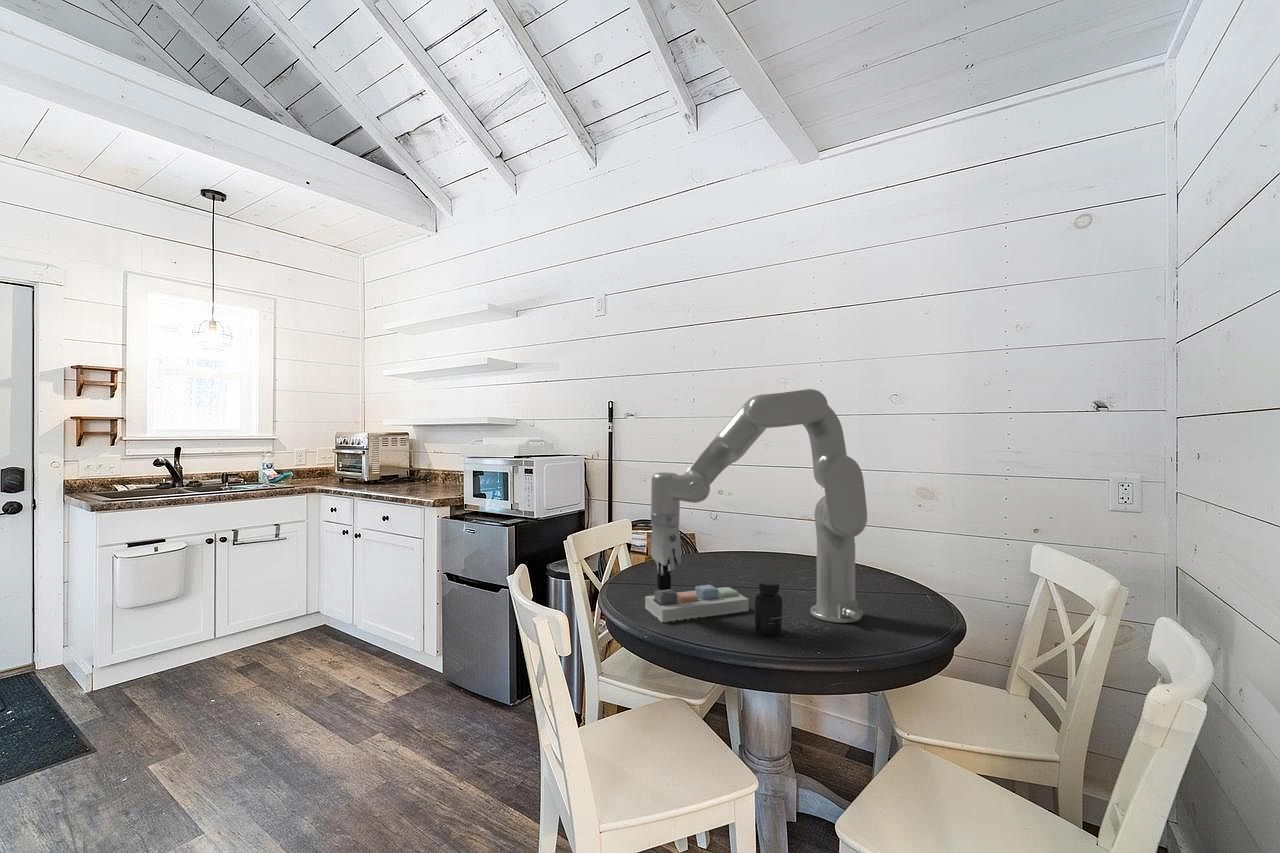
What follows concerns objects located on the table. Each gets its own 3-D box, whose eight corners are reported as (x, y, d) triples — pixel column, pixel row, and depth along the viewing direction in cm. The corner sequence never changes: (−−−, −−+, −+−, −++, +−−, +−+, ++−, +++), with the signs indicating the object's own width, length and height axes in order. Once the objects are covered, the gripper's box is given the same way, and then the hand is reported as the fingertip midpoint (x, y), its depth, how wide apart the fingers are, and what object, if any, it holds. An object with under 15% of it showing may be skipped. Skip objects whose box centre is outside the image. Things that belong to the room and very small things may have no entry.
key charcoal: (677, 605, 151) (677, 593, 150) (661, 607, 149) (661, 595, 149) (670, 600, 155) (670, 588, 155) (654, 602, 153) (654, 590, 153)
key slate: (718, 600, 155) (718, 588, 155) (702, 602, 153) (702, 590, 153) (710, 595, 159) (710, 584, 159) (695, 597, 157) (695, 585, 157)
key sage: (737, 602, 157) (737, 591, 157) (722, 604, 155) (722, 592, 155) (729, 597, 161) (729, 586, 161) (714, 599, 160) (714, 588, 160)
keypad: (748, 610, 154) (748, 599, 154) (662, 622, 145) (662, 610, 145) (726, 597, 165) (726, 586, 165) (645, 608, 156) (645, 596, 156)
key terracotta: (697, 607, 153) (697, 595, 153) (682, 609, 151) (682, 597, 151) (690, 602, 157) (690, 591, 157) (675, 604, 155) (675, 592, 155)
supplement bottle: (777, 639, 134) (777, 588, 134) (750, 633, 137) (749, 583, 137) (787, 630, 140) (787, 581, 139) (760, 625, 143) (760, 577, 143)
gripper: (690, 524, 146) (689, 596, 146) (667, 514, 160) (666, 580, 160) (663, 525, 143) (661, 598, 144) (641, 515, 157) (640, 582, 158)
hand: (664, 588), depth 152 cm, fingers closed
